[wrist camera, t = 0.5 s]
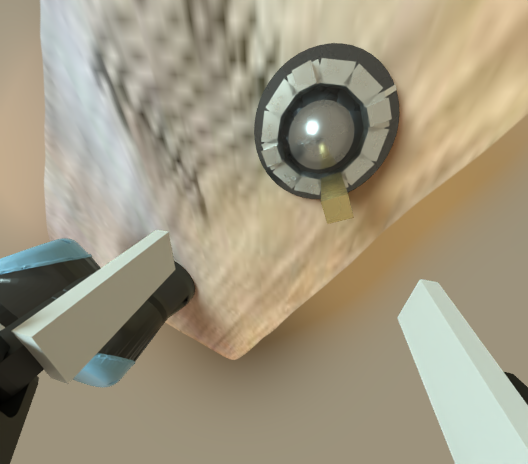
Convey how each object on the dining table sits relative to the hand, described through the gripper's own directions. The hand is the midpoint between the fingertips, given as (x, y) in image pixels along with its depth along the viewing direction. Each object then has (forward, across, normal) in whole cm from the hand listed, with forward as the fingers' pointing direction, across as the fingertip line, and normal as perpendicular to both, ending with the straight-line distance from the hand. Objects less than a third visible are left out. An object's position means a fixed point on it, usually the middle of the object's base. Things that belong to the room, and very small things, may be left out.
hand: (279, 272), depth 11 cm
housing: (+24, +1, +6) cm, 25 cm away
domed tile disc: (+22, +1, +5) cm, 23 cm away
